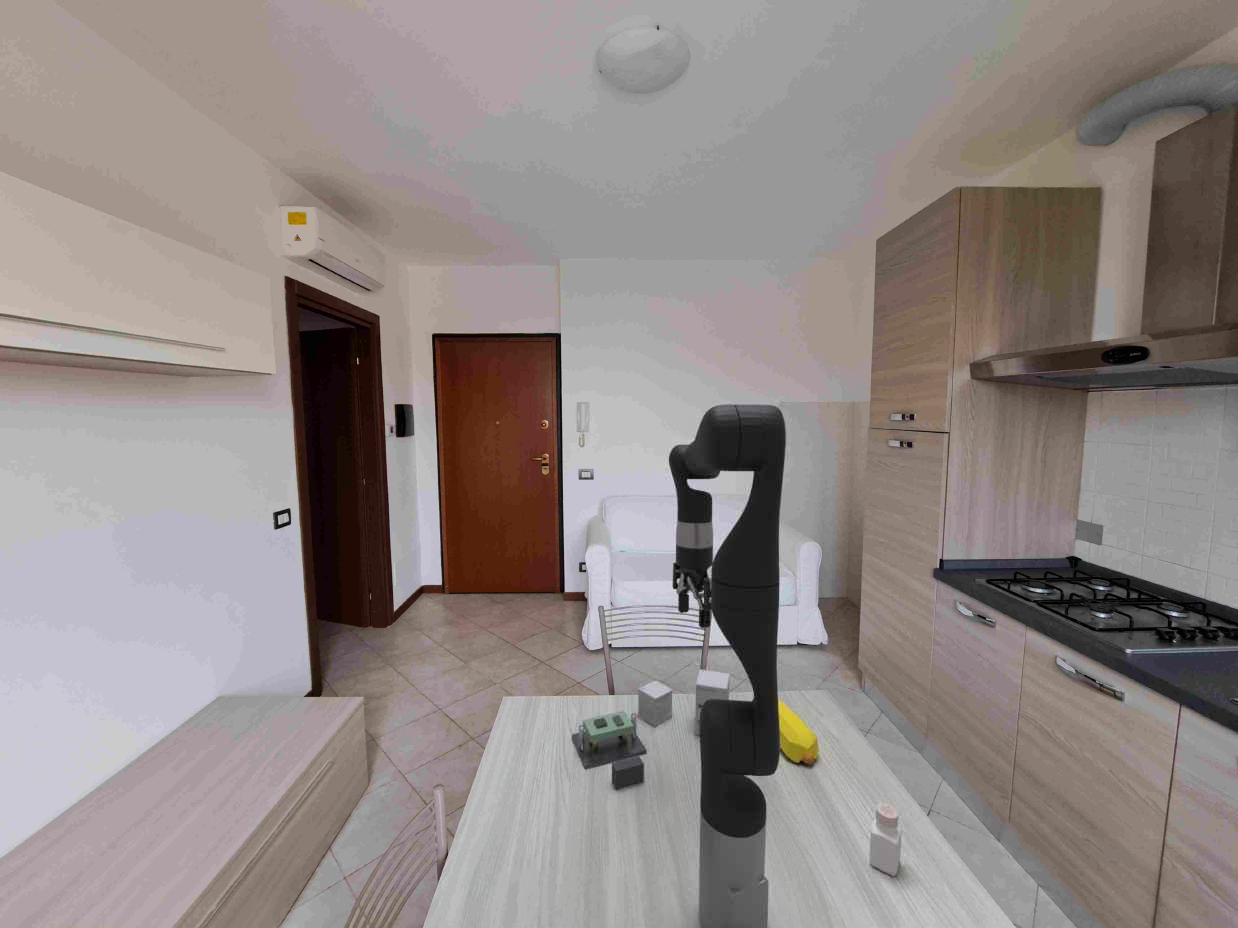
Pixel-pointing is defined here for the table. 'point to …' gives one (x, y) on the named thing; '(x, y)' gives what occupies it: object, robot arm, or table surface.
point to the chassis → (608, 747)
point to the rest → (627, 772)
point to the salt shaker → (885, 840)
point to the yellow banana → (796, 736)
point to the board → (608, 726)
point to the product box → (655, 703)
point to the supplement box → (710, 691)
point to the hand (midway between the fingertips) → (693, 619)
